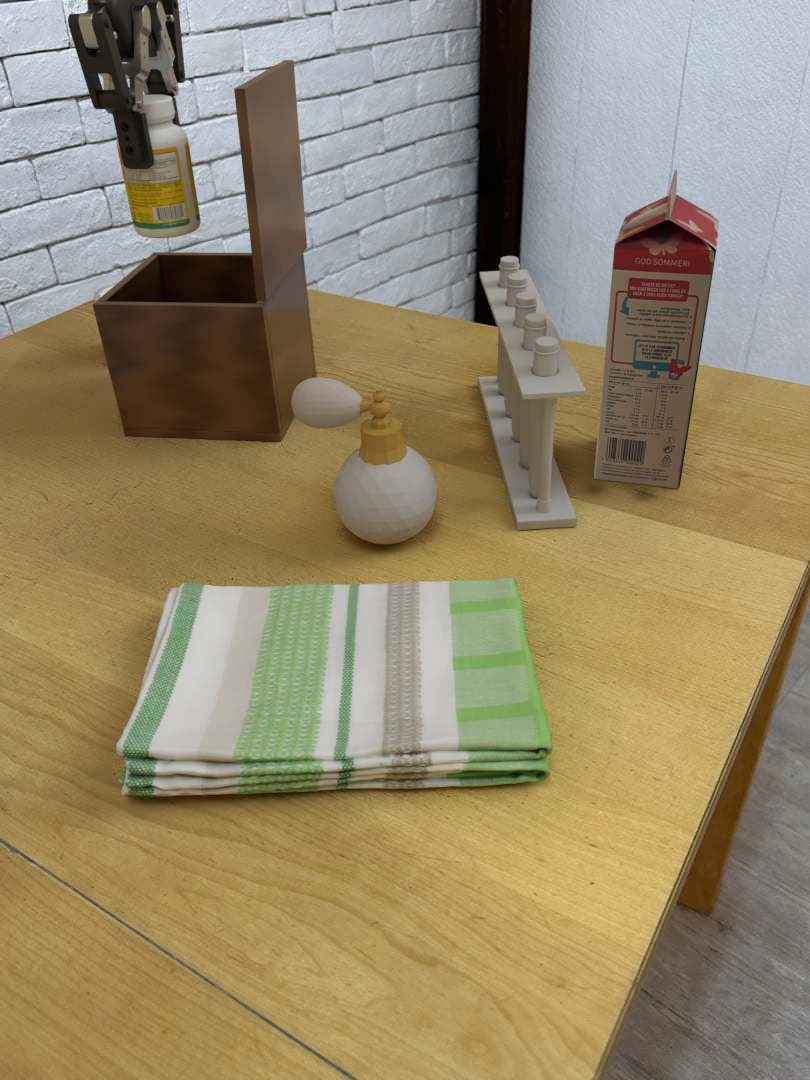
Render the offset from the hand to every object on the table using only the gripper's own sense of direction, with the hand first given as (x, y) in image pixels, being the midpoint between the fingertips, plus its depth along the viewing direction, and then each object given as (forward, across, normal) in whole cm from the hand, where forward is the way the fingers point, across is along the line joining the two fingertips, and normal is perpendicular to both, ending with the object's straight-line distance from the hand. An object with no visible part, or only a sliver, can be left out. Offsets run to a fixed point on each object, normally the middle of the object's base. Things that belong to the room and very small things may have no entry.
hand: (154, 157), depth 70 cm
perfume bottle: (+23, +16, +19) cm, 34 cm away
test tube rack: (+23, +2, +29) cm, 37 cm away
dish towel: (+23, +32, +20) cm, 44 cm away
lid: (+3, -4, +8) cm, 9 cm away
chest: (+23, -4, +1) cm, 23 cm away
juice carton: (+23, +4, +39) cm, 45 cm away
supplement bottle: (+6, 0, 0) cm, 6 cm away
